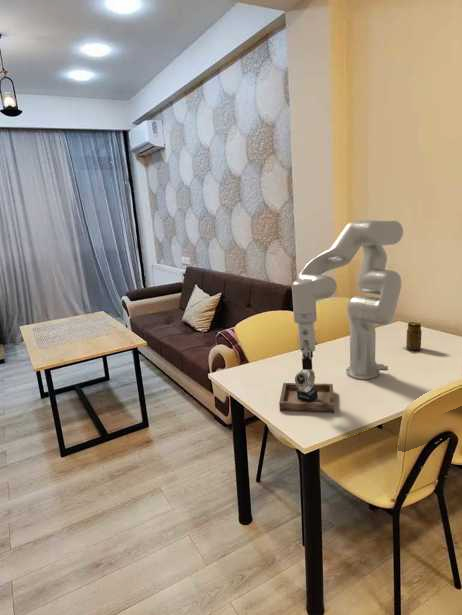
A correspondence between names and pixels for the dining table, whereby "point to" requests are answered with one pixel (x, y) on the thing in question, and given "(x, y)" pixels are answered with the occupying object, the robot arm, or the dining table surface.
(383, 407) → the dining table surface
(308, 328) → the robot arm
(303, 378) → the watch
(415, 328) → the condiment
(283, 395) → the tray
